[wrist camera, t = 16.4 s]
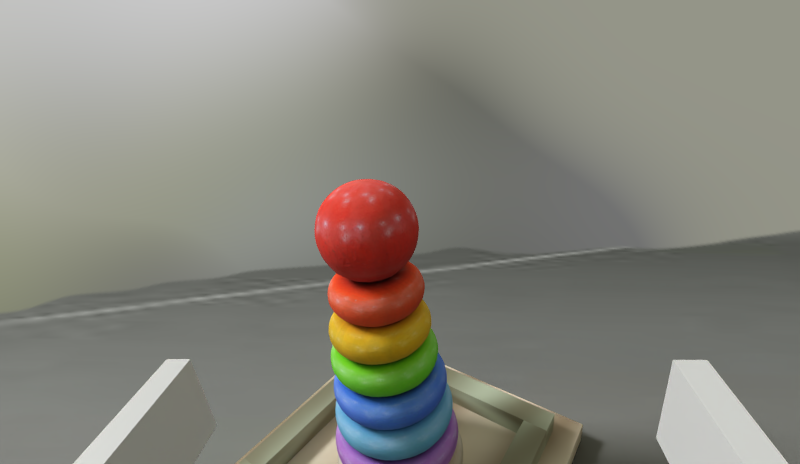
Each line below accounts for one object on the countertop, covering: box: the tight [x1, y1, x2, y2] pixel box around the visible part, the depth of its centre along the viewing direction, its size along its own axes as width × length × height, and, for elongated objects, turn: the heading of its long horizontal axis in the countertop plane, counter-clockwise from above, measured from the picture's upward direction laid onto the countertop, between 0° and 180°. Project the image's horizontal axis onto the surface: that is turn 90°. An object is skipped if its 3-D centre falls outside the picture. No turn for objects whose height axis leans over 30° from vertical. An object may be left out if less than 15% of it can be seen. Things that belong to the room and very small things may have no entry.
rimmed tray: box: [235, 365, 583, 464], centre depth 27 cm, size 18×18×3 cm
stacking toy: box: [315, 179, 463, 464], centre depth 23 cm, size 8×8×19 cm
